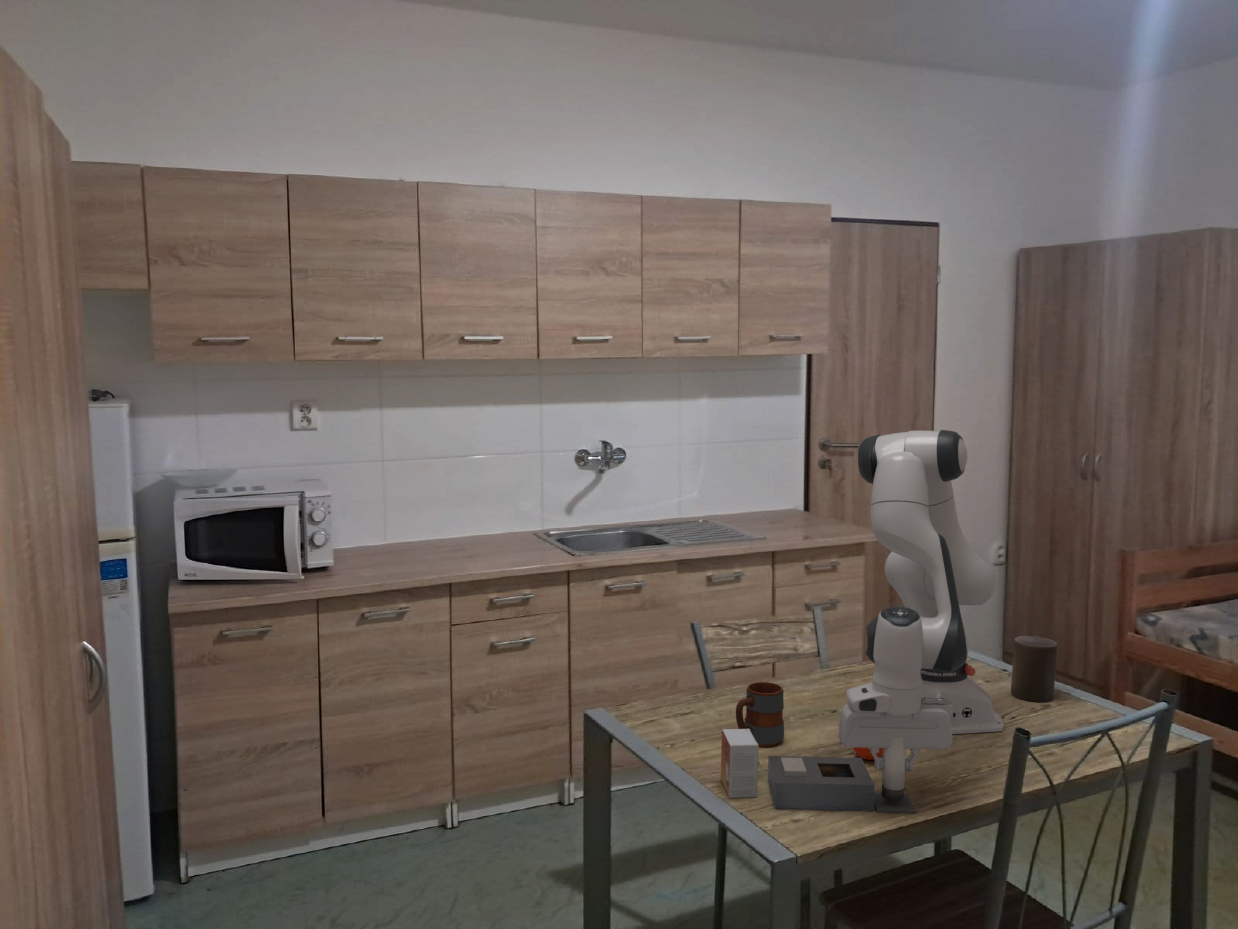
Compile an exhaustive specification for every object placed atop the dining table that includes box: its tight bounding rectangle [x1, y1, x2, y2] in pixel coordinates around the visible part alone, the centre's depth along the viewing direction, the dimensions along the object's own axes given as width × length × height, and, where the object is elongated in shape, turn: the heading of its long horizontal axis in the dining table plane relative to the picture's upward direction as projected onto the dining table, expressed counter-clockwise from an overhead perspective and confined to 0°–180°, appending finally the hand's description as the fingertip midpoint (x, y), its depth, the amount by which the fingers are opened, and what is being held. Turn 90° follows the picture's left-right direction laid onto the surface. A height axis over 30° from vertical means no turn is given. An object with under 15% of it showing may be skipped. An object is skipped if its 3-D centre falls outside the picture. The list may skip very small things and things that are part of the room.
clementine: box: [852, 747, 883, 761], centre depth 206 cm, size 8×7×7 cm
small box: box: [720, 728, 760, 799], centre depth 191 cm, size 8×6×10 cm
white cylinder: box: [881, 737, 907, 801], centre depth 184 cm, size 4×4×12 cm
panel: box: [767, 755, 876, 812], centre depth 188 cm, size 18×12×6 cm, turn 88°
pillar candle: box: [1010, 635, 1058, 704], centre depth 242 cm, size 10×10×15 cm
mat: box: [874, 792, 917, 814], centre depth 185 cm, size 7×7×1 cm
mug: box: [735, 681, 785, 748], centre depth 213 cm, size 9×12×12 cm
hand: (893, 769), depth 185 cm, fingers closed on white cylinder, 4 cm apart
